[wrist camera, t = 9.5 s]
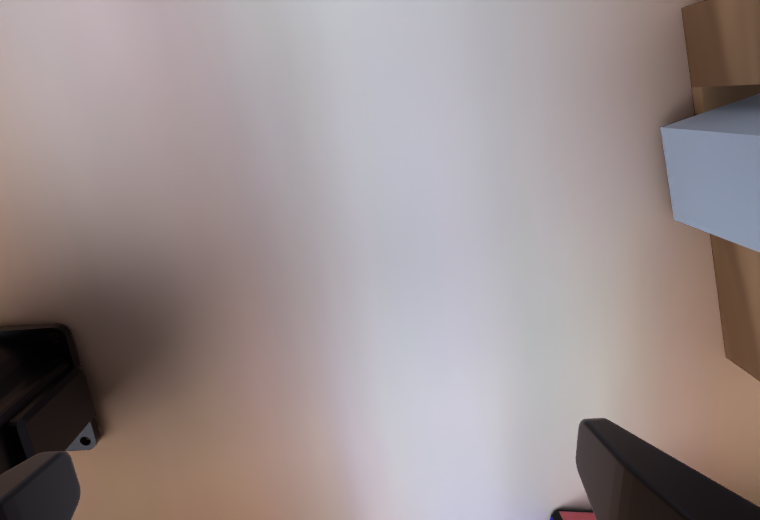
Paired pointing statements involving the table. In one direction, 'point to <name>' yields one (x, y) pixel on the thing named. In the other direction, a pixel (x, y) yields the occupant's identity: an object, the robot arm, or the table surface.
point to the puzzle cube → (572, 515)
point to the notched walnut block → (710, 91)
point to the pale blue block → (717, 171)
